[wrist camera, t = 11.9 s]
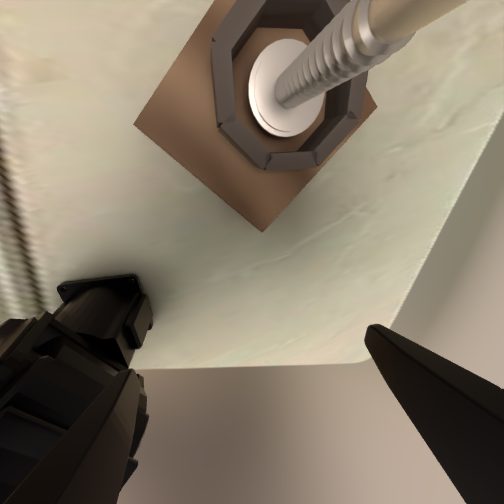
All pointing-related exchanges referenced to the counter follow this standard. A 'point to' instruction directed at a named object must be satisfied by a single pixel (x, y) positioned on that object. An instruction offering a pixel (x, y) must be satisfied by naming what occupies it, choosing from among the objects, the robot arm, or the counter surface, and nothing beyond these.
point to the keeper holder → (248, 107)
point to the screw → (332, 59)
